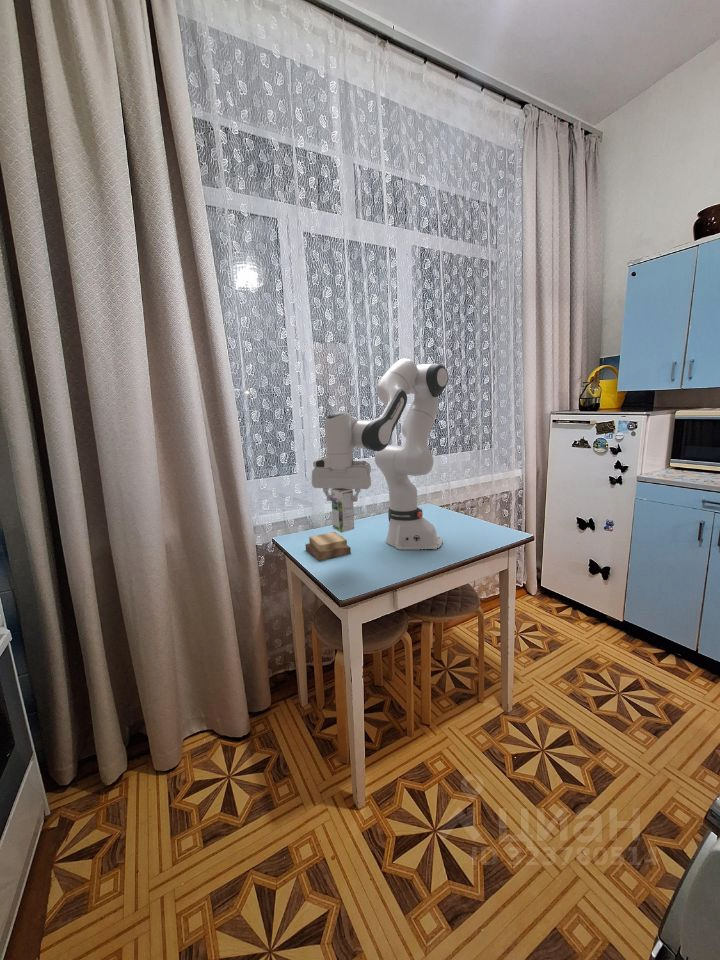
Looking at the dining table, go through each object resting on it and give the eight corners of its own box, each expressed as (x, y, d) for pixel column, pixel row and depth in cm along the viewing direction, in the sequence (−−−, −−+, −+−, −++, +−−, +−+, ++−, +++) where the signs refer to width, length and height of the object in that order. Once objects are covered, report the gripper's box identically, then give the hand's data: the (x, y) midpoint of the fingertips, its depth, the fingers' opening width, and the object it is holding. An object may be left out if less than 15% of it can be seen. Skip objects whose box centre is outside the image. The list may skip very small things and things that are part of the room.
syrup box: (332, 529, 137) (329, 488, 134) (346, 525, 140) (344, 485, 137) (341, 533, 132) (338, 491, 129) (355, 529, 135) (353, 488, 132)
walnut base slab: (335, 544, 160) (335, 537, 160) (350, 555, 149) (350, 547, 149) (305, 551, 154) (305, 544, 153) (319, 562, 143) (319, 554, 142)
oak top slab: (335, 538, 158) (335, 531, 158) (347, 547, 149) (346, 540, 148) (309, 543, 154) (309, 536, 153) (319, 553, 144) (319, 545, 143)
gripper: (372, 459, 131) (373, 499, 134) (315, 459, 136) (317, 497, 139) (368, 462, 125) (369, 504, 128) (308, 462, 130) (311, 502, 134)
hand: (342, 500), depth 134 cm, fingers closed on syrup box, 8 cm apart
